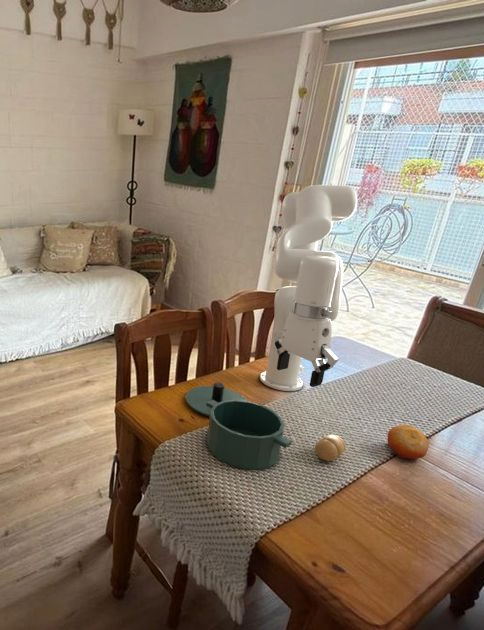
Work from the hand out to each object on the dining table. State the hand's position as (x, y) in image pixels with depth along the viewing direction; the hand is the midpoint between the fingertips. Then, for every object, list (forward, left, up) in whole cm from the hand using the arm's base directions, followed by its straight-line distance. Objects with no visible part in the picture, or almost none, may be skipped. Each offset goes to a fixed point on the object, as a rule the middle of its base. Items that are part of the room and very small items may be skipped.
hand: (298, 377), depth 106 cm
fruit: (-17, +20, -17) cm, 31 cm away
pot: (+13, -4, -17) cm, 22 cm away
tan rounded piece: (-1, +10, -17) cm, 20 cm away
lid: (+1, -21, -17) cm, 27 cm away
